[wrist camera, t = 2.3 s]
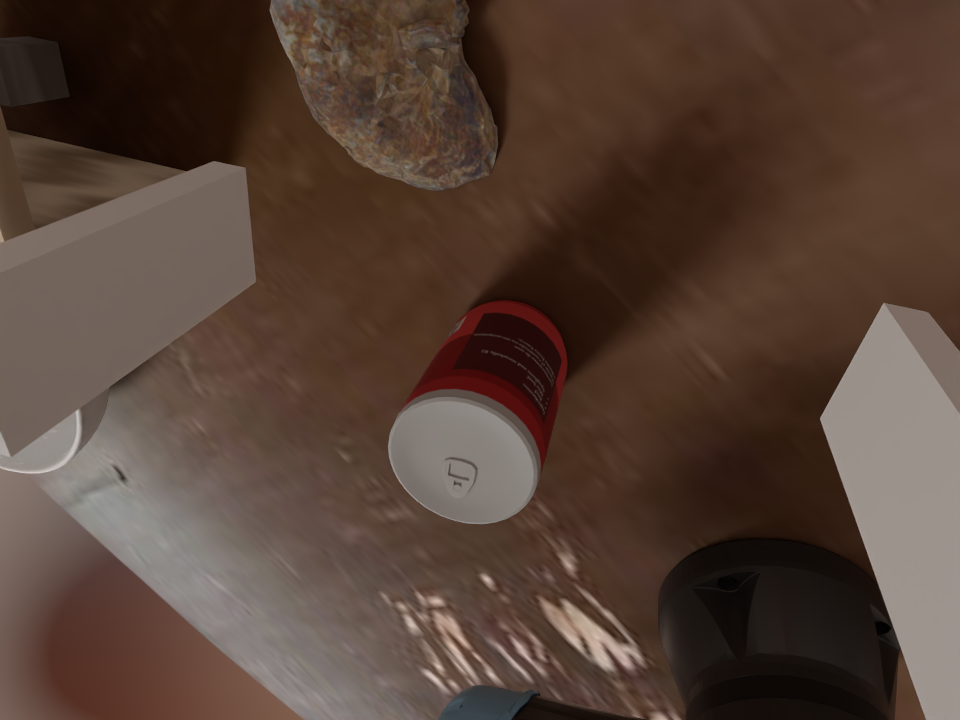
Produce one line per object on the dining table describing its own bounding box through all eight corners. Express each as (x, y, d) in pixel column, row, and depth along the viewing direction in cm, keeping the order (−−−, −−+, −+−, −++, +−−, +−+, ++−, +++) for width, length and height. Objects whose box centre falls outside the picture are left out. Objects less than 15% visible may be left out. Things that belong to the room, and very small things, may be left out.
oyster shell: (356, 200, 36) (316, 227, 32) (281, -46, 30) (221, -51, 26) (509, 176, 33) (487, 203, 29) (459, -102, 27) (423, -118, 23)
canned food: (462, 404, 41) (405, 521, 32) (440, 297, 38) (368, 395, 28) (575, 406, 39) (547, 531, 30) (563, 292, 35) (528, 397, 26)
